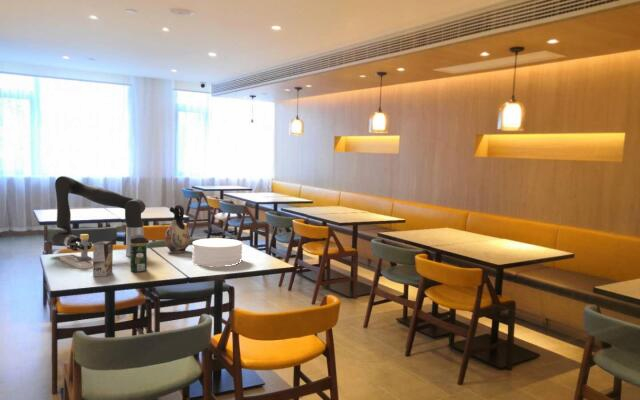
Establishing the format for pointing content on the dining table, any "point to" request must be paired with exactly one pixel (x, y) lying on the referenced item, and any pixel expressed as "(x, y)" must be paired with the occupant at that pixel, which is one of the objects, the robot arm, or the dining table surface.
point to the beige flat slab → (77, 261)
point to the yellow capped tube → (84, 252)
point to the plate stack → (216, 252)
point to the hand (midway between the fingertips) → (86, 247)
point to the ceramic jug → (177, 232)
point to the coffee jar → (138, 253)
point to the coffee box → (102, 258)
